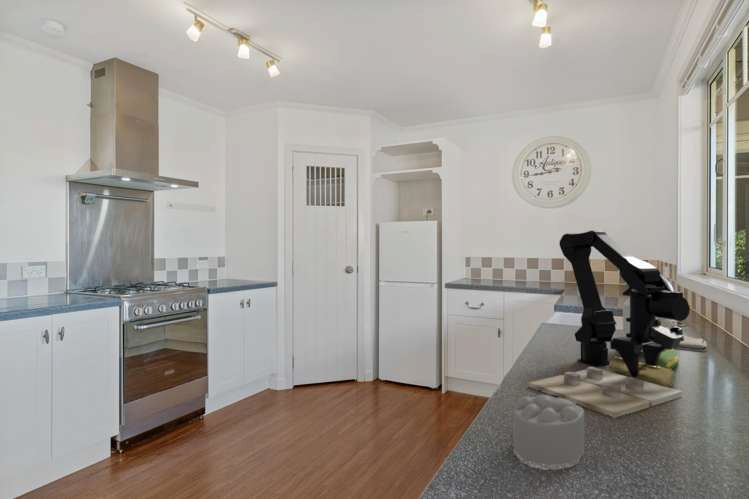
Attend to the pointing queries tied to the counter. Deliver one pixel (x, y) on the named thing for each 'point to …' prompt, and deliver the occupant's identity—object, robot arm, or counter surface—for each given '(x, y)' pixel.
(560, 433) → the lumpy-topped squat cylinder
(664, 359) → the edible corn
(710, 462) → the counter surface
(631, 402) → the hinge leaves
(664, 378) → the hinge pin
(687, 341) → the washcloth
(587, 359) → the robot arm
